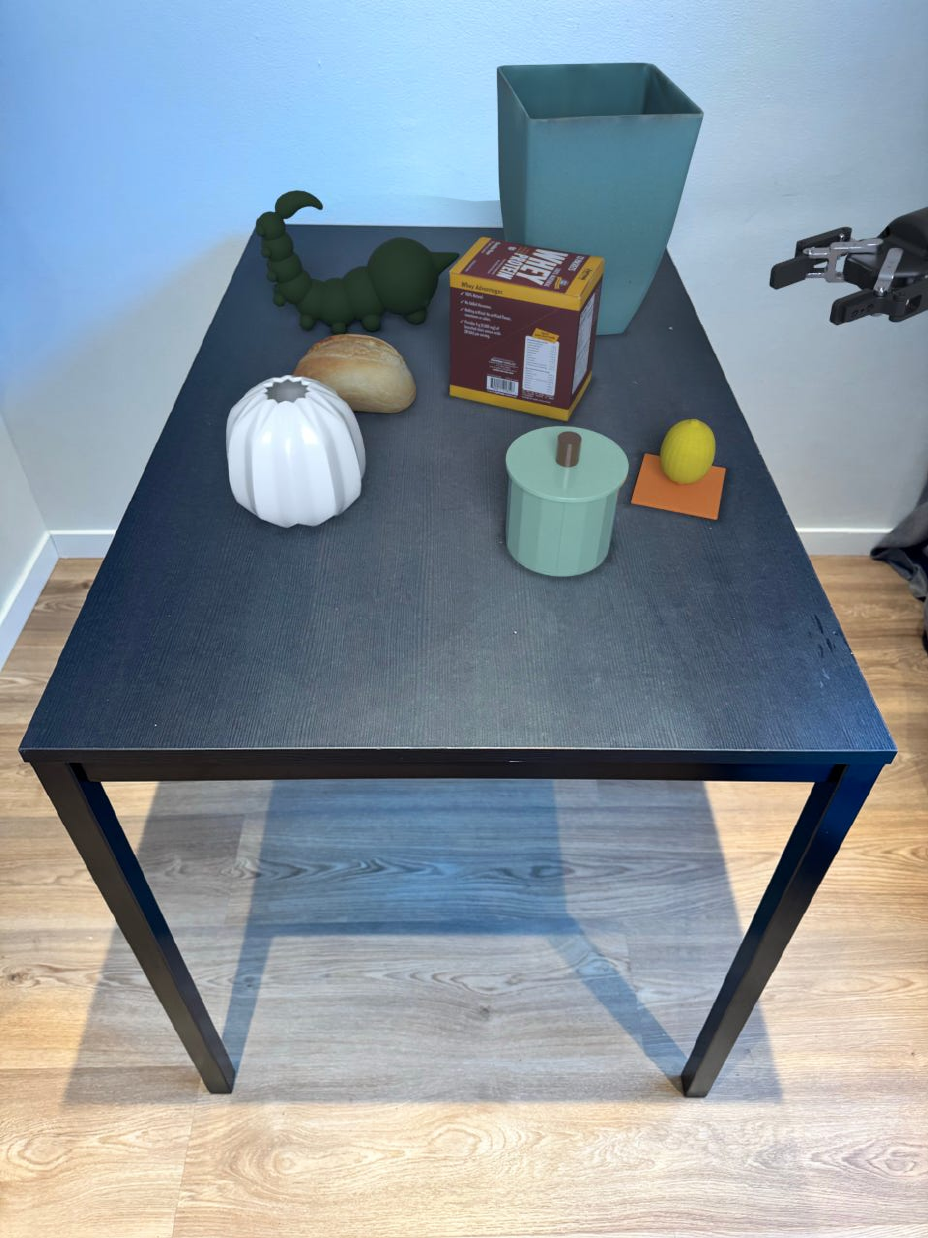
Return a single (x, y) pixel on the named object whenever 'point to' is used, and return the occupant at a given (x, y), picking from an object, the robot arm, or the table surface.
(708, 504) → the orange square coaster
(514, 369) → the supplement box
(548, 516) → the pot
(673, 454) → the lemon
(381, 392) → the bread roll
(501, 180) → the flower pot
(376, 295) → the toy figurine
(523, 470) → the pot lid
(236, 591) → the table surface
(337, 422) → the vase
